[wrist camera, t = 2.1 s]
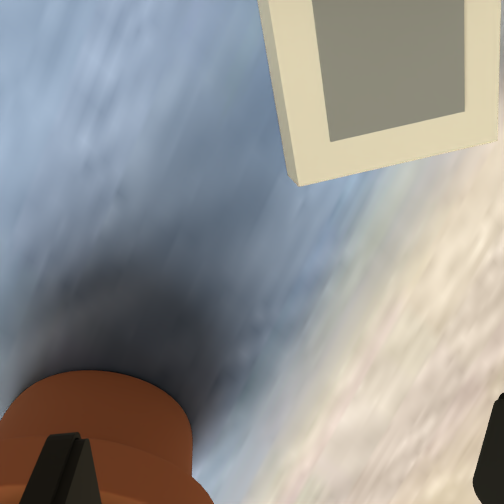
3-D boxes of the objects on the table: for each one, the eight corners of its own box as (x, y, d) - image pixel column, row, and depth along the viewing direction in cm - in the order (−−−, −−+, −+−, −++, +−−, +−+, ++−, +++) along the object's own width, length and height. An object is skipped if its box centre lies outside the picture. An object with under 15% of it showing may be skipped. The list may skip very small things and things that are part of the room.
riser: (462, -85, 27) (507, -116, 23) (463, 134, 32) (500, 141, 28) (250, -39, 26) (259, -62, 22) (287, 175, 32) (299, 187, 28)
